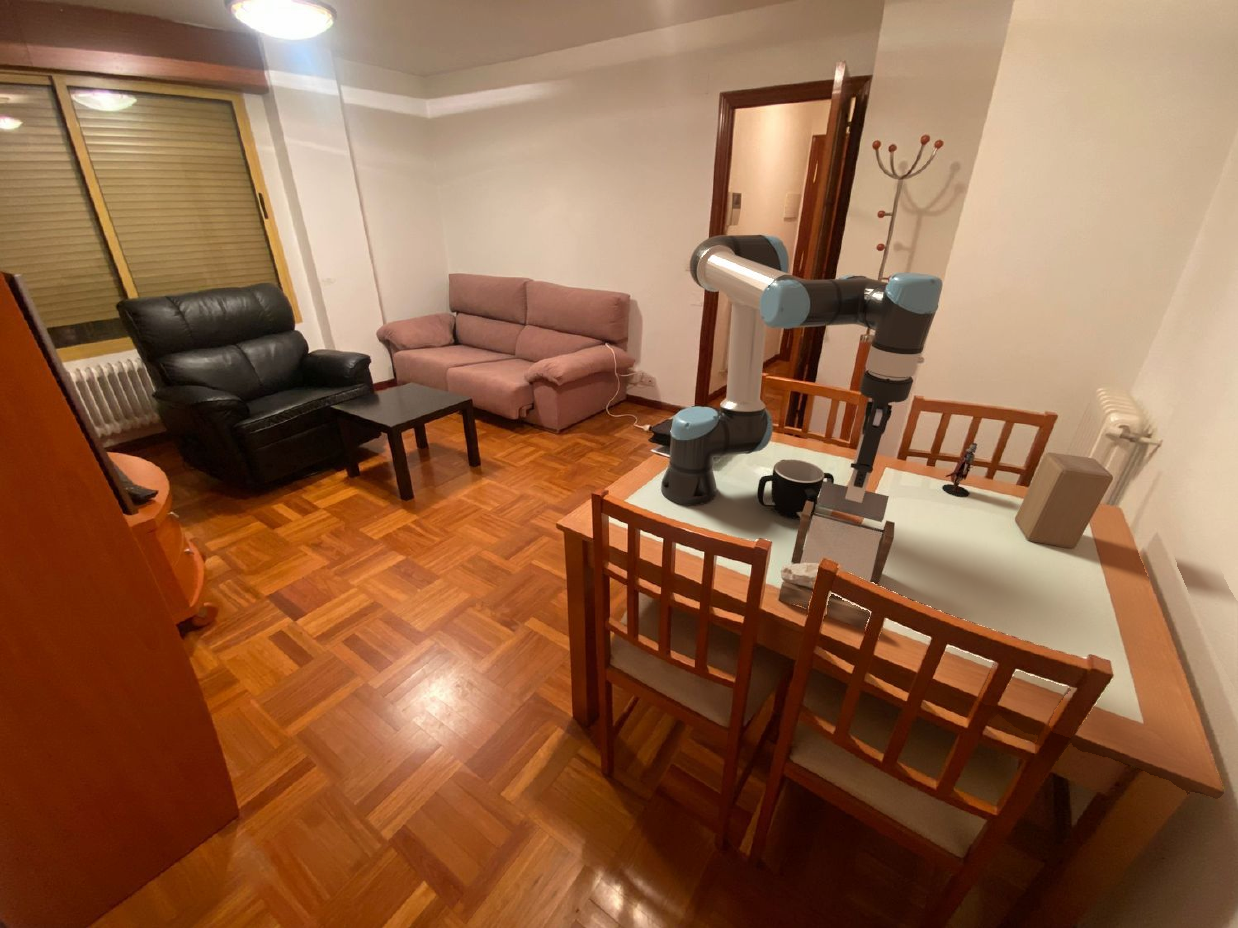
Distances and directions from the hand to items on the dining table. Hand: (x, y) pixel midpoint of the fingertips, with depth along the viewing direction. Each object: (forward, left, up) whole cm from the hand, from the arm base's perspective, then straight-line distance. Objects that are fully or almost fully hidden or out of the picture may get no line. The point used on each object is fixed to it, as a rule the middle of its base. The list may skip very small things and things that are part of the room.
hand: (856, 482), depth 93 cm
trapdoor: (0, +8, -16) cm, 18 cm away
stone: (-3, -2, -21) cm, 22 cm away
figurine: (+26, +59, -25) cm, 70 cm away
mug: (-13, +26, -25) cm, 39 cm away
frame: (0, 0, -25) cm, 25 cm away
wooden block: (+44, +45, -25) cm, 68 cm away
